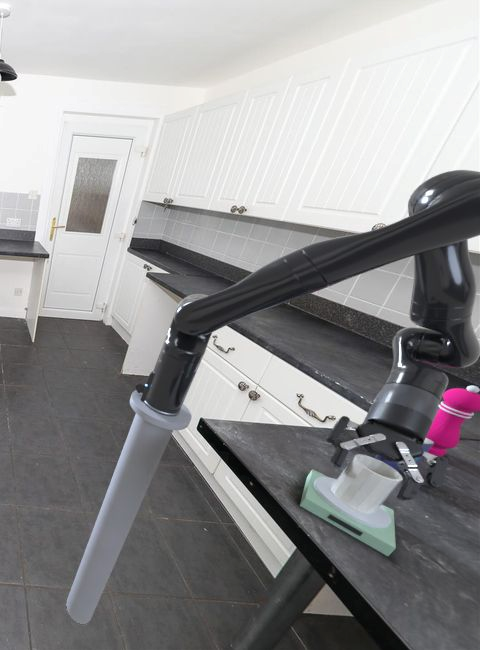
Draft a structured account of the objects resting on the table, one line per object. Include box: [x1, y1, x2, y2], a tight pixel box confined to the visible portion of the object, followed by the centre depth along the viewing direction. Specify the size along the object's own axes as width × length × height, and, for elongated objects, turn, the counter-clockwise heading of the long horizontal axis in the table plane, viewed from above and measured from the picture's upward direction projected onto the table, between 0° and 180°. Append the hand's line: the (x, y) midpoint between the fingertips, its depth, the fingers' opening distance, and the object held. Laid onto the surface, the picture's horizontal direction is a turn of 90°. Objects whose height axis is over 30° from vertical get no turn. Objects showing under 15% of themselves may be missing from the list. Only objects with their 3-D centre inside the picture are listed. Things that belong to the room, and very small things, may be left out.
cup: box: [331, 453, 404, 514], centre depth 64 cm, size 6×6×9 cm
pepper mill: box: [426, 385, 480, 457], centre depth 84 cm, size 7×7×20 cm
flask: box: [374, 438, 434, 473], centre depth 78 cm, size 9×3×11 cm, turn 90°
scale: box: [299, 469, 397, 557], centre depth 66 cm, size 12×12×3 cm
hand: (367, 482), depth 63 cm, fingers open, 8 cm apart
